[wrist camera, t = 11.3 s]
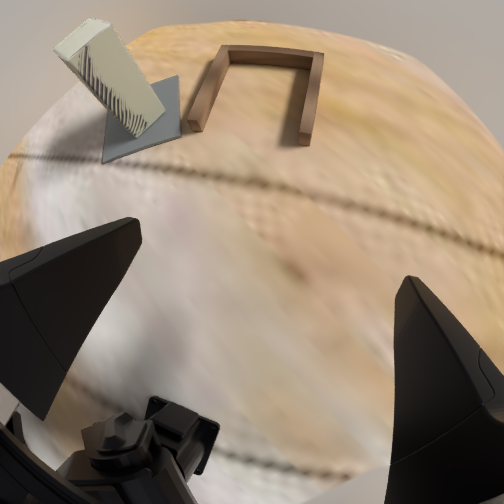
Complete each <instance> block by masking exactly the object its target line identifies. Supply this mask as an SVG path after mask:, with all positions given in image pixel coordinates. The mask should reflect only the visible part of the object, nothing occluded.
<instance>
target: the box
mask: <svg viewBox="0 0 504 504" xmlns="http://www.w3.org/2000/svg"><path fill="white" fill-rule="evenodd" d="M53 51H54V52H55V53H56V54H57V55H58V56H59V58H60V59H61V60H62V61H63V62H64V63H65V64H66V65H67V66H68V67H69V68H70V69H71V71H72V72H73V73H74V74H75V75H76V76H77V77H78V78H79V79H80V80H81V82H82V83H83V84H84V85H85V86H86V87H87V88H88V89H89V90H90V91H91V93H92V94H93V95H94V96H95V97H96V98H97V99H98V100H99V101H100V102H101V104H102V105H103V106H104V107H105V108H106V109H107V110H108V111H109V112H110V113H111V115H112V116H113V117H114V118H115V119H116V120H117V121H118V122H119V123H120V124H121V125H122V126H123V127H124V128H125V129H126V130H127V131H128V132H130V133H131V134H132V135H133V136H134V137H136V138H138V137H139V136H140V135H141V134H142V133H143V132H144V131H145V130H146V129H147V128H148V127H149V126H150V125H152V124H153V123H154V122H155V121H156V120H157V119H158V118H159V117H160V116H161V115H162V114H163V113H164V112H165V111H166V110H165V108H164V106H163V105H162V103H161V102H160V100H159V98H158V97H157V95H156V94H155V92H154V90H153V89H152V87H151V86H150V84H149V82H148V81H147V79H146V78H145V76H144V74H143V73H142V71H141V70H140V68H139V66H138V65H137V63H136V62H135V60H134V59H133V57H132V55H131V54H130V52H129V51H128V49H127V47H126V46H125V44H124V43H123V41H122V40H121V38H120V36H119V35H118V33H117V32H116V30H115V29H114V27H113V26H112V24H111V23H109V22H106V21H103V20H99V19H95V18H89V19H88V20H86V21H85V22H84V23H82V24H81V25H80V26H79V27H78V28H76V29H75V30H74V31H73V32H72V33H71V34H69V35H68V36H67V37H66V38H65V39H64V40H63V41H62V42H61V43H59V44H58V45H57V46H56V47H55V48H54V50H53Z"/></svg>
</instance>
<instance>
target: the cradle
mask: <svg viewBox="0 0 504 504" xmlns="http://www.w3.org/2000/svg"><path fill="white" fill-rule="evenodd" d="M323 60H324V53H319V52H313V51H306V50H298V49H290V48H280V47H268V46H250V45H221V47H220V49H219V51H218V53H217V55H216V57H215V59H214V61H213V63H212V65H211V67H210V69H209V71H208V73H207V75H206V77H205V79H204V81H203V84H202V86H201V88H200V90H199V92H198V95H197V97H196V99H195V101H194V104H193V106H192V108H191V111H190V113H189V115H188V118H187V121H188V123H189V124H190V126H191V128H192V130H193V131H201V132H203V130H204V127H205V124H206V122H207V119H208V117H209V114H210V111H211V109H212V106H213V104H214V101H215V99H216V96H217V94H218V92H219V89H220V87H221V84H222V82H223V80H224V77H225V75H226V73H227V70H228V68H229V66H230V64H231V63H253V64H267V65H278V66H287V67H295V68H302V69H309V70H311V73H310V78H309V84H308V89H307V94H306V99H305V104H304V109H303V114H302V119H301V124H300V129H299V144H302V145H307V146H310V142H311V137H312V131H313V125H314V119H315V113H316V107H317V101H318V95H319V89H320V82H321V76H322V69H323Z"/></svg>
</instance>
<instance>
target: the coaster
mask: <svg viewBox="0 0 504 504" xmlns="http://www.w3.org/2000/svg"><path fill="white" fill-rule="evenodd" d="M150 86H151V87H152V89H153V90H154V92H155V94H156V95H157V97H158V98H159V100H160V102H161V103H162V105H163V106H164V108H165V110H166V111H165V112H164V113H163V114H162V115H161V116H160V117H159V118H158V119H157V120H156V121H155V122H154V123H153V124H152V125H150V126H149V127H148V128H147V129H146V130H145V131H144V132H143V133H142V134H141V135H140V136H139V137H138V138H136V137H134V136H133V135H132V134H131V133H130V132H128V131H127V130H126V129H125V128H124V127H123V126H122V125H121V124H120V123H119V122H118V121H117V120H116V119H115V118H114V117H113V116H112V115H111V113H110V112H109V111H108V115H107V122H106V130H105V138H104V148H103V160H102V162H103V163H104V164H105V163H107V162H110V161H113V160H115V159H118V158H120V157H123V156H126V155H129V154H131V153H134V152H137V151H140V150H143V149H146V148H149V147H152V146H155V145H158V144H161V143H164V142H167V141H171V140H174V139H177V138H181V121H180V97H179V76H178V75H177V76H173V77H170V78H167V79H164V80H162V81H159V82H156V83H153V84H150Z"/></svg>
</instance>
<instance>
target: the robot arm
mask: <svg viewBox="0 0 504 504" xmlns="http://www.w3.org/2000/svg"><path fill="white" fill-rule="evenodd" d="M141 244H142V235H141V228H140V222H139V220H138V219H137V218H132V217H126V218H123V219H120V220H117V221H114V222H110V223H107V224H104V225H101V226H98V227H95V228H92V229H89V230H86V231H83V232H81V233H78V234H75V235H72V236H69V237H66V238H64V239H61V240H58V241H55V242H53V243H50V244H47V245H45V246H44V247H43V246H42V247H40V248H37V249H34V250H32V251H29V252H26V253H24V254H21V255H18V256H16V257H13V258H10V259H7V260H4V261H2V262H0V504H198V503H197V501H196V500H195V498H194V496H193V494H192V493H191V491H190V489H189V487H188V485H187V482H188V481H189V479H190V477H191V476H192V474H196V475H202V473H203V471H204V469H205V466H206V464H207V461H208V459H209V456H210V454H211V451H212V448H213V446H214V443H215V441H216V438H217V435H218V433H219V430H220V425H219V424H218V423H217V422H215V421H212V420H209V419H207V418H204V417H202V416H200V415H198V413H196V412H194V411H191V410H189V409H187V408H184V407H182V406H180V405H178V404H176V403H173V402H168V401H166V400H164V399H162V398H160V397H158V396H153V397H151V398H150V399H149V403H148V407H147V411H146V415H145V419H144V420H142V421H137V420H136V418H133V417H132V416H130V415H129V414H128V413H126V412H119V413H117V414H116V415H114V416H112V417H111V418H109V419H108V420H107V421H106V422H97V423H94V424H93V426H90V427H88V428H85V429H82V430H81V432H82V437H83V441H84V446H85V450H80V451H76V452H74V453H73V454H72V455H71V456H70V457H69V458H68V459H67V460H66V461H65V462H64V463H63V464H62V465H61V466H60V467H59V468H58V469H57V470H56V471H54V470H53V469H52V468H50V467H49V466H48V465H47V464H45V463H44V462H43V461H42V460H40V459H39V458H38V457H37V456H36V455H35V454H33V453H32V452H31V451H30V450H29V449H28V448H27V447H26V446H25V445H24V437H23V431H22V424H21V416H20V414H19V413H18V412H17V411H16V409H17V408H18V406H19V405H20V403H22V404H23V405H24V406H25V407H26V408H27V409H29V410H30V411H31V412H32V413H33V414H34V415H36V416H37V417H38V418H39V419H41V420H42V421H44V419H45V418H46V416H47V413H48V411H49V409H50V407H51V405H52V403H53V400H54V398H55V396H56V394H57V392H58V390H59V388H60V386H61V384H62V382H63V380H64V378H65V376H66V374H67V373H66V372H68V370H69V368H70V366H71V364H72V363H73V361H74V359H75V357H76V355H77V353H78V352H79V350H80V348H81V346H82V344H83V343H84V341H85V339H86V337H87V336H88V334H89V332H90V330H91V329H92V327H93V325H94V324H95V322H96V320H97V319H98V317H99V315H100V314H101V312H102V311H103V309H104V307H105V306H106V304H107V303H108V301H109V299H110V298H111V296H112V295H113V293H114V292H115V290H116V288H117V287H118V285H119V284H120V282H121V281H122V279H123V277H124V276H125V274H126V272H127V270H128V268H129V266H130V264H131V263H132V261H133V259H134V257H135V255H136V253H137V252H138V250H139V248H140V246H141ZM394 368H395V402H394V427H393V441H392V452H391V462H390V464H391V465H390V469H389V476H388V484H387V490H386V496H385V501H384V504H504V375H503V374H502V373H501V372H500V371H499V369H498V368H497V367H496V366H495V365H494V363H493V362H492V361H491V360H490V358H489V357H488V356H487V355H486V353H485V352H484V351H483V349H482V348H480V346H479V345H478V343H477V342H476V341H475V340H474V338H473V337H472V336H471V335H470V334H469V332H468V331H467V330H466V329H465V328H464V327H463V325H462V324H461V323H460V322H459V321H458V320H457V318H456V317H455V316H454V315H453V314H452V313H451V312H450V311H449V310H448V308H447V307H446V306H445V305H444V304H443V303H442V302H441V301H440V300H439V299H438V298H437V296H436V295H435V294H434V293H433V292H432V291H431V290H430V289H429V288H428V287H427V286H426V285H425V284H424V283H423V282H422V281H421V280H420V279H419V278H418V277H414V276H410V275H408V276H406V277H405V278H404V280H403V282H402V284H401V286H400V288H399V290H398V292H397V294H396V297H395V317H394ZM154 400H156V402H157V403H155V402H154ZM211 426H215V427H216V429H213V428H212V427H211ZM196 469H198V470H199V471H197V470H196Z"/></svg>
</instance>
